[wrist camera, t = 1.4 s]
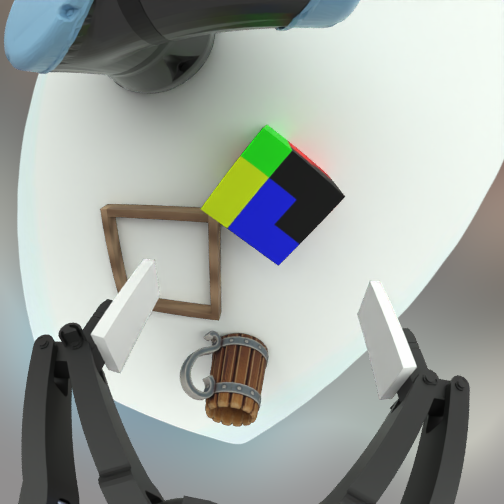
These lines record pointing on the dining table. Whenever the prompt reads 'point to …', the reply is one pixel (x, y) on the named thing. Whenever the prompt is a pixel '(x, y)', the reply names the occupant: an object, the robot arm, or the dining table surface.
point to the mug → (230, 378)
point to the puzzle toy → (273, 196)
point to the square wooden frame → (166, 213)
